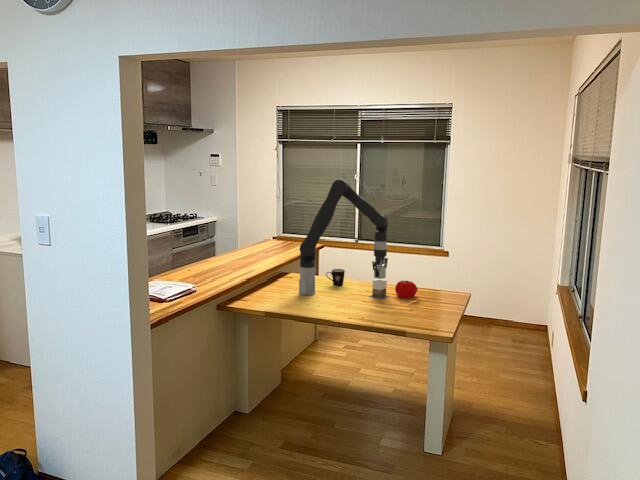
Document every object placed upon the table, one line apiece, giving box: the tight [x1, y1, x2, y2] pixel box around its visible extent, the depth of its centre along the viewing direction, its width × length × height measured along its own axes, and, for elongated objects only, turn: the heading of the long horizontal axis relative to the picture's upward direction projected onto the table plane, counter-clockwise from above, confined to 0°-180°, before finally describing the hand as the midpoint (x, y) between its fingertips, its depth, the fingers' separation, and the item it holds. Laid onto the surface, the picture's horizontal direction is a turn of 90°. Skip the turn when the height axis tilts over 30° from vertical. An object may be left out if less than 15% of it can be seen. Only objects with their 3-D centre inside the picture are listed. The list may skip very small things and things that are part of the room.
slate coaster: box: [367, 294, 391, 300], centre depth 321 cm, size 10×10×1 cm
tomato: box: [394, 279, 418, 299], centre depth 321 cm, size 13×12×11 cm
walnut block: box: [371, 288, 387, 298], centre depth 321 cm, size 6×6×5 cm
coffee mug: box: [325, 268, 346, 287], centre depth 351 cm, size 12×9×10 cm
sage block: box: [373, 267, 387, 280], centre depth 319 cm, size 5×5×6 cm
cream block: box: [372, 278, 388, 290], centre depth 320 cm, size 6×6×5 cm
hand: (379, 276), depth 319 cm, fingers closed on sage block, 5 cm apart
